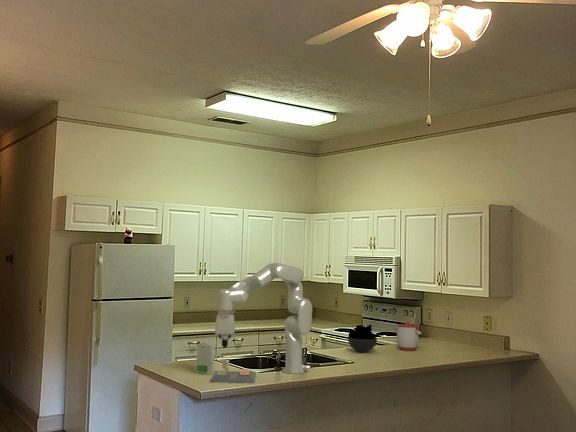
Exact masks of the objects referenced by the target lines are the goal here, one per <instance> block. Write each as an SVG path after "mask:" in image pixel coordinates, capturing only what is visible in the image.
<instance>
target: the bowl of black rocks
mask: <svg viewBox="0 0 576 432" xmlns="http://www.w3.org/2000/svg"><path fill="white" fill-rule="evenodd" d="M372 327H373V326H372V324H369V325H367V326H364V325H362V324H361V325H360V324H359V325H356V327H355V329H354V330H353V331H350V332H348V336H347V342H348V343H349V344H348V345H349V346H350V347H351V348H352V349H353V350H354V351H356V352H358V353H367V352H369V351H370V352H371V351H372V350H373V349H374V347H375V346H376V344H377V342H378V338H377V337H376V335H375V334H374V333H373V332H372Z"/></svg>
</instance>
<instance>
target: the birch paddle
mask: <svg viewBox="0 0 576 432" xmlns="http://www.w3.org/2000/svg"><path fill="white" fill-rule="evenodd" d="M229 363H230V359H222V360H221V364H222V367H221V371H222V372H228V371H229Z"/></svg>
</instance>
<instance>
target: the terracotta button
mask: <svg viewBox="0 0 576 432" xmlns="http://www.w3.org/2000/svg"><path fill="white" fill-rule="evenodd" d="M239 372H240V375H250V372H251V368H250V369H244V368H241V369H240V370H239Z"/></svg>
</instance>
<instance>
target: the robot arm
mask: <svg viewBox="0 0 576 432" xmlns="http://www.w3.org/2000/svg"><path fill="white" fill-rule="evenodd" d="M304 274H305V273H304V271H303V270H302V269H301V268H299V267H296V266H294V265H293V266H292V265H287V264H284V263H280V262H272V263H268V264H267V265H265V266H264V267H262V268H261V269H260V270H258V271H257V272H256V273H254V274H252V275H251V276H248V277H246V278H244V279H241V280H240V281H237V282H236V283H234V284H233V285H231V287H229V288H224V289H223V288H222V289H219V290H218V299H217V300H218V303H217V304H218V306H217V307H218V309H217V313H218V314H217V315H216V319H215V327H214V328H215V333H214V337H218V338H219V339H220V341H221V347H222V348H223V349H224V348H225V349H226V348H227V347H228V346H229V340H230V338H232V337H236V334H235V331H236V326H235V324H236V322H235V315H234V314H236V310H234V309H233V305H234V304H233V303H237V304H243V303H245V302H246V301H247V300H248V298H249V294H248V292H251V291H256V290H260V289H262V288H264V287H265V286H267V285H268V284H269V283H270V282H272V281H274V280H275V279H280V280H282V281H283V282H284V283H285V285H286V286H287V310H288V312H289V313H290V314H294V315H289V316H288V317H287V318H286V319H285V321H284V331H285V357H284V359H285V361H284V362H285V364H284V365H285V368H284V367H283V368H282V372H283V373H285V374H291V375H292V374H293V375H294V374H296V375H297V374H303V373H305V370H310V369H311V365H309V364H306V365H305V364H303V336H304V335H305V336H306V335H307V334H309V333H310V332H311V330H312V324H313V305H312V304H313V303H312V302H311V301H310V300H309V299H308V298H305V297H304V292H303V289H304V288H303V283H302V281H303V279H304ZM225 335H226V336H225ZM302 335H303V336H302Z"/></svg>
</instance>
